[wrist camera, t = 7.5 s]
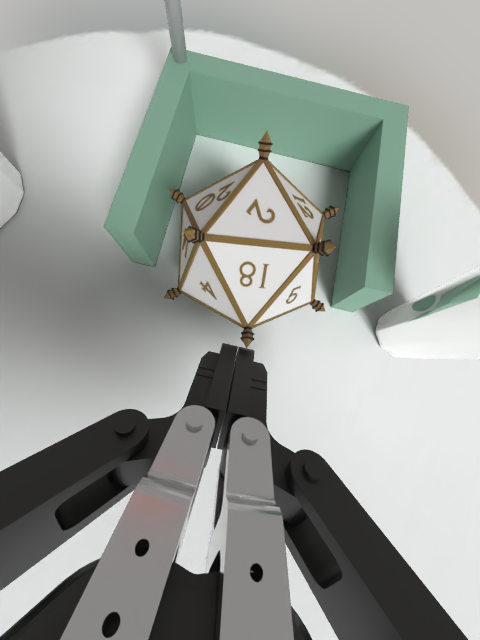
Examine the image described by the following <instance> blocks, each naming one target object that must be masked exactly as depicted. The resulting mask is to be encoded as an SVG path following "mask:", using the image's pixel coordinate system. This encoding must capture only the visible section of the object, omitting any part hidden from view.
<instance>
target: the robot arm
mask: <svg viewBox="0 0 480 640" xmlns="http://www.w3.org/2000/svg"><path fill="white" fill-rule="evenodd" d="M237 348H238V347H237V346H233V345H229V344H224V343H223V344H222V347H221V351H220V354H218V353H214V352H210V351H209V352H208V353H206V354H205V355H204V356H203V357H202V358H201V361H200V364H199V366H198V369H197V372H196V375H195V377H194V380H193V383H192V385H191V388H190V391H189V394H188V396H187V399H186V402H185V404H184V406H183V407H182V409H181V410H180V411H178V412H177V413H176V414H174V415H172V416H169V417H166V418H156V419H147V417H146V416H145V414H143V413H142V412H140V411H138V410H135V409H125V410H121V411H118V412H116V413H114V414H112V415H110V416H108V417H106V418H104V419H102V420H100V421H98V422H96V423H94V424H92V425H90V426H88V427H87V428H85V429H83V430H81V431H79V432H77V433H75V434H73V435H71V436H69V437H67V438H65V439H63V440H61V441H59V442H57V443H55V444H53V445H51V446H49V447H47V448H45V449H44V450H42V451H40V452H38V453H36V454H34V455H32V456H30V457H28V458H26V459H24V460H22V461H20V462H18V463H16V464H14V465H12V466H10V467H8V468H6V469H4V470H2V471H1V472H0V591H1V590H2V589H3V588H5V587H6V586H7V585H9V584H10V583H11V582H13V581H14V580H15V579H17V578H18V577H19V576H20V575H22V574H23V573H24V572H26V571H27V570H28V569H30V568H31V567H32V566H34V565H35V564H36V563H38V562H39V561H40V560H42V559H43V558H44V557H46V556H47V555H48V554H50V553H51V552H52V551H54V550H55V549H56V548H58V547H59V546H60V545H62V544H63V543H64V542H66V541H67V540H68V539H69V538H71V537H72V536H73V535H75V534H76V533H77V532H79V531H80V530H81V529H83V528H84V527H85V526H87V525H88V524H89V523H91V522H92V521H93V520H95V519H96V518H97V517H99V516H100V515H101V514H103V513H104V512H105V511H107V510H108V509H109V508H111V507H112V506H113V505H115V504H116V503H117V502H118V501H120V500H121V499H122V498H124V497H125V496H126V495H128V494H129V493H130V492H132V491H133V490H134V489H135V490H134V492H133V494H132V496H131V498H130V500H129V502H128V504H127V506H126V508H125V510H124V512H123V514H122V516H121V518H120V520H119V522H118V524H117V526H116V528H115V530H114V532H113V534H112V536H111V538H110V540H109V542H108V544H107V546H106V548H105V550H104V552H103V554H102V557H101V558H100V559H98V560H96V561H93V562H91V563H89V564H87V565H86V566H84V567H82V568H81V569H79V570H77V571H76V572H75V573H73V574H72V575H71V576H69V577H68V578H66V579H65V580H64V581H63V582H62V583H61V584H59V585H58V586H57V587H56V588H55V589H54V590H53V591H51V592H50V593H49V594H48V595H47V596H46V597H45V598H44V599H42V600H41V601H40V602H39V603H38V604H37V605H36V606H35V607H33V608H32V609H31V610H30V611H29V612H28V613H27V614H26V615H24V616H23V617H22V618H21V619H20V620H19V621H18V622H17V623H15V624H14V625H13V626H12V627H11V628H10V629H9V630H8V631H6V632H5V633H4V634H3V635H2V636H1V637H0V640H312V638H311V636H310V634H309V632H308V630H307V629H306V627H305V625H304V624H303V622H302V620H301V619H300V617H299V616H298V614H297V613H296V612H295V610H294V609H293V607H292V606H291V602H290V591H289V580H288V569H287V558H286V547H285V543H286V545H287V547H288V549H289V550H290V552H291V554H292V556H293V558H294V559H295V561H296V563H297V565H298V567H299V568H300V570H301V572H302V574H303V576H304V578H305V579H306V581H307V583H308V585H309V587H310V588H311V590H312V592H313V594H314V596H315V597H316V599H317V601H318V603H319V605H320V606H321V608H322V610H323V612H324V614H325V615H326V617H327V619H328V621H329V623H330V625H331V626H332V628H333V630H334V632H335V634H336V635H337V637H338V639H339V640H468V639H467V638H466V636H465V635H464V634H463V633H462V631H461V630H460V629H459V628H458V626H457V625H456V624H455V623H454V621H453V620H452V619H451V618H450V616H449V615H448V614H447V612H446V611H445V610H444V609H443V607H442V606H441V605H440V604H439V602H438V601H437V600H436V599H435V597H434V596H433V595H432V594H431V592H430V591H429V590H428V589H427V587H426V586H425V585H424V584H423V582H422V581H421V580H420V579H419V577H418V576H417V575H416V574H415V572H414V571H413V570H412V569H411V567H410V566H409V565H408V564H407V562H406V561H405V560H404V559H403V557H402V556H401V555H400V554H399V552H398V551H397V550H396V549H395V547H394V546H393V545H392V544H391V542H390V541H389V540H388V539H387V537H386V536H385V535H384V534H383V532H382V531H381V530H380V529H379V527H378V526H377V525H376V524H375V522H374V521H373V520H372V519H371V517H370V516H369V515H368V514H367V512H366V511H365V510H364V508H363V507H362V506H361V505H360V503H359V502H358V501H357V500H356V498H355V497H354V496H353V495H352V493H351V492H350V491H349V490H348V488H347V487H346V486H345V485H344V483H343V482H342V481H341V480H340V478H339V477H338V476H337V475H336V473H335V472H334V471H333V470H332V468H331V467H330V466H329V465H328V463H327V462H326V461H325V460H324V459H323V458H322V457H321V456H320V455H319V454H317V453H315V452H313V451H310V450H300V451H297V452H296V453H294V452H293V451H291V450H289V449H287V448H286V447H284V446H282V445H281V444H279V443H278V442H277V441H276V440H275V439H274V438H273V437H272V436H271V434H270V433H269V431H268V428H267V424H266V409H267V371H266V369H265V367H264V365H263V364H261V363H257V362H253V360H254V350H250V349H246V348H242V347H239V349H238V352H237ZM236 354H237V356H236ZM235 359H236V360H235ZM220 430H221V431H220ZM219 433H220V436H219ZM218 437H219V441H218ZM217 441H218V447H217V449H222V450H223V451H222V456H221V462H220V465H219V468H218V475H217V484H216V494H215V503H214V513H213V522H212V531H211V537H210V542H209V548H208V554H207V562H206V571H205V573H204V574H193V573H191V572H189V571H188V570H186V569H185V568H183V567H182V566H180V565H178V564H177V563H176V562H177V559H178V555H179V552H180V548H181V545H182V542H183V538H184V534H185V531H186V527H187V524H188V521H189V517H190V514H191V511H192V507H193V504H194V501H195V497H196V494H197V491H198V487H199V484H200V481H201V477H202V474H203V470H204V468H205V467H206V465H207V462H208V458H209V455H210V451H211V447H212V448H216V444H217Z"/></svg>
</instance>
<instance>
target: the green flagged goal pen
mask: <svg viewBox="0 0 480 640" xmlns="http://www.w3.org/2000/svg"><path fill="white" fill-rule="evenodd" d="M164 1H165V6H166V13H167V19H168V26H169V33H170V39H171V45H172V46H171V49H170V52H169V54H168V57H167V60H166V62H165V65H164V68H163V70H162V73H161V76H160V78H159V81H158V84H157V86H156V89H155V92H154V94H153V97H152V100H151V102H150V105H149V108H148V110H147V113H146V115H145V118H144V121H143V123H142V126H141V129H140V131H139V134H138V137H137V139H136V142H135V145H134V147H133V150H132V153H131V155H130V158H129V161H128V163H127V166H126V169H125V171H124V174H123V177H122V179H121V182H120V185H119V187H118V190H117V193H116V195H115V198H114V201H113V203H112V206H111V209H110V211H109V214H108V217H107V219H106V222H105V225H104V228H105V229H106V230H107V231H108V232H109V234H110V235H111V236H112V237H113V238H114V240H115V241H116V242H117V243H118V245H119V246H120V247H121V248H122V249H123V251H124V252H125V253H126V254H127V255H128V257H129V258H130V259H131V260H132V261H133V262H137V263H141V264H146V265H150V266H154V267H155V265H156V261H157V258H158V255H159V252H160V249H161V245H162V242H163V239H164V236H165V233H166V230H167V226H168V223H169V220H170V217H171V214H172V210H173V207H174V204H175V200H173V199H172V198H171V197H172V196H171V194H170V192H169V190H168V189H170V190H177V189H179V188H180V185H181V182H182V178H183V175H184V172H185V169H186V166H187V162H188V159H189V156H190V153H191V150H192V146H193V143H194V140H195V137H196V134H198V135H203V136H207V137H211V138H215V139H219V140H223V141H227V142H231V143H235V144H239V145H244V146H248V147H252V148H256V149H259V143H258V142H259V141H260V140H261V139H262V137H263V136H264V134H265V133H266V131H268V134H269V137H270V140H271V143H273V145H271V152H272V153H276V154H281V155H285V156H289V157H293V158H297V159H301V160H305V161H309V162H313V163H318V164H322V165H326V166H330V167H334V168H338V169H342V170H346V171H350V175H349V182H348V190H347V197H346V204H345V211H344V218H343V225H342V232H341V239H340V246H339V254H338V261H337V268H336V275H335V282H334V289H333V296H332V303H331V307H333V308H337V309H342V310H346V311H350V312H354V311H356V310H358V309H360V308H363V307H365V306H367V305H369V304H371V303H374V302H376V301H378V300H380V299H382V298H385V297H387V296H389V295H391V294H393V286H394V274H395V263H396V251H397V239H398V227H399V215H400V204H401V192H402V180H403V168H404V157H405V145H406V133H407V121H408V109H409V106H406V105H402V104H399V103H394V102H391V101H387V100H383V99H379V98H375V97H371V96H367V95H363V94H359V93H355V92H351V91H347V90H343V89H339V88H335V87H331V86H327V85H323V84H319V83H315V82H311V81H307V80H303V79H299V78H295V77H291V76H287V75H283V74H279V73H275V72H271V71H267V70H263V69H259V68H255V67H251V66H247V65H243V64H239V63H235V62H231V61H227V60H223V59H220V58H216V57H212V56H208V55H204V54H200V53H196V52H192V51H188V50H186V45H185V36H184V27H183V18H182V9H181V1H180V0H164Z"/></svg>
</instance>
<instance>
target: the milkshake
mask: <svg viewBox="0 0 480 640" xmlns="http://www.w3.org/2000/svg"><path fill="white" fill-rule="evenodd" d="M375 333H376V335H377V338H378V341H379V344H380V347H382V348H383V349H384V350H385V351H387V352H388V353H389V354H390V355H392V356H393V357H404V358H430V359H469V360H480V266H478V267H476V268H474V269H472V270H470V271H468V272H466V273H464V274H463V275H461V276H459V277H457V278H455V279H453V280H452V281H450V282H448V283H446V284H443V285H441V286H439V287H437V288H435V289H433V290H431V291H429V292H427V293H425V294H423V295H421V296H419V297H417V298H414V299H412V300H410V301H408V302H406V303H404V304H402V305H400V306H398V307H396V308H394V309H392V310H390V311H389V312H387V313H386V314H384V315H383V316H381V317H380V318H379V320H378V324H377V327H376V331H375Z"/></svg>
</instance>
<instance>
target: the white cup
mask: <svg viewBox="0 0 480 640" xmlns="http://www.w3.org/2000/svg"><path fill="white" fill-rule="evenodd" d="M23 194H24V192H23V186H22V179H21V174H20V173H19V172H18V170H17V169H16V168H15V167H14V166H13V165H12V164H11V162H10V161H9V160H8V159H7V158H6V157H5V156H4V155H3V154H2V152H1V151H0V228H1V227H2V226H3V225H4V224H5V223H6V222H7V221H8V220H9V219H10V218H11V217H12V216H13V215H15V214H16V212H17V210H18V207H19V205H20V202H21V199H22V197H23Z"/></svg>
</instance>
